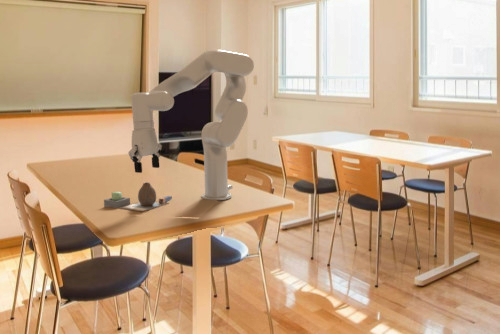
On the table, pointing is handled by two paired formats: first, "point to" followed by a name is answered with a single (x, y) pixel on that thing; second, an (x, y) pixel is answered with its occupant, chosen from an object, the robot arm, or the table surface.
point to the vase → (147, 195)
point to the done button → (116, 196)
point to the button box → (116, 202)
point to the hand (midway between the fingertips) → (147, 169)
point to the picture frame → (142, 207)
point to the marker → (165, 199)
